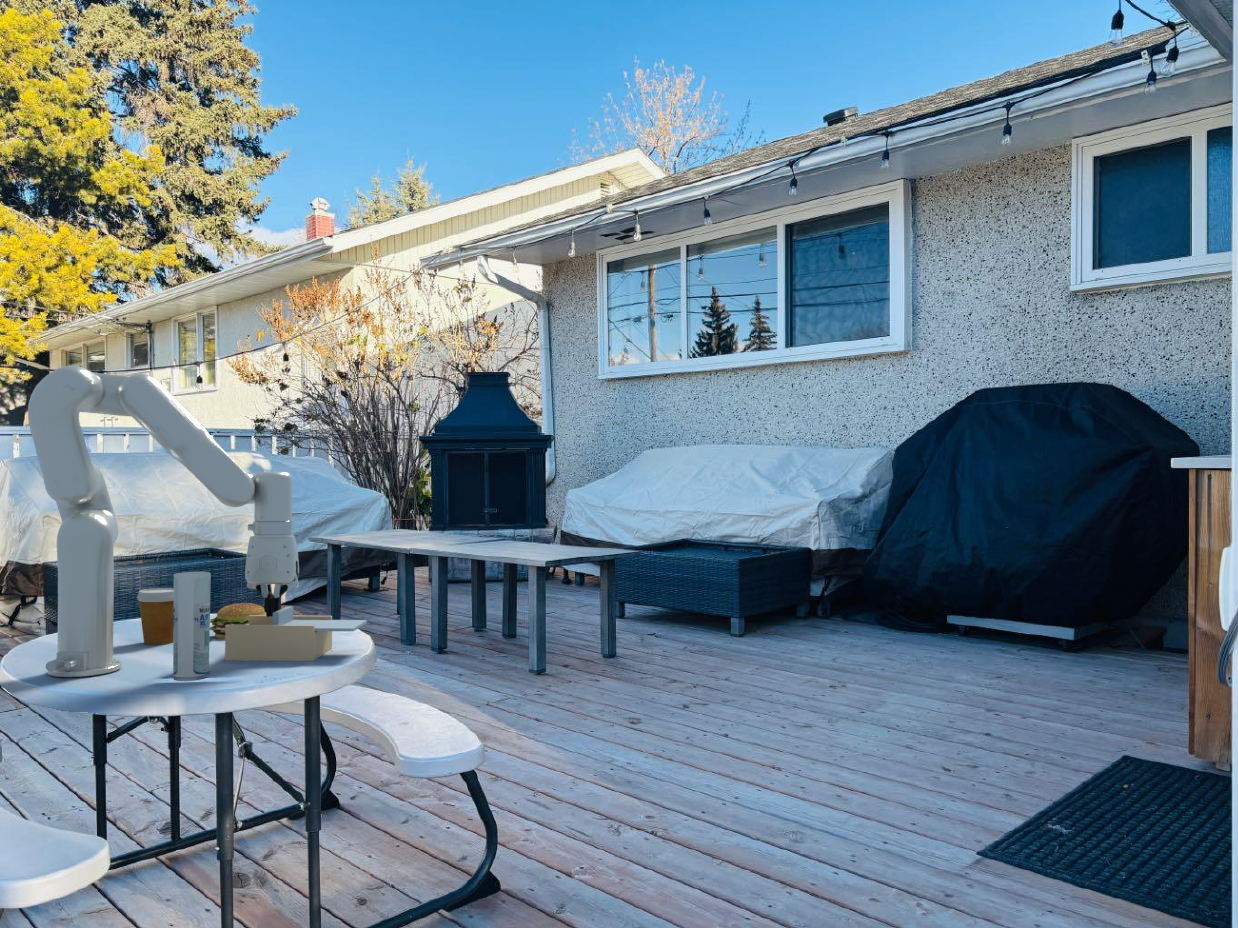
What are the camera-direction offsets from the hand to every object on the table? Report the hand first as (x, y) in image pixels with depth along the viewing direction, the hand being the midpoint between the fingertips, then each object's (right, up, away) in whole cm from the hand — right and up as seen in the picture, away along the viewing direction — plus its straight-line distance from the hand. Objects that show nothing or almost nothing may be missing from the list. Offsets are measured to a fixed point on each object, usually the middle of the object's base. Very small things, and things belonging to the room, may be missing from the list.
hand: (272, 615), depth 195 cm
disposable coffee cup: (-32, -9, +16) cm, 37 cm away
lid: (+10, -2, 0) cm, 10 cm away
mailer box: (+2, -9, 0) cm, 9 cm away
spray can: (-9, -9, -19) cm, 23 cm away
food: (-16, -9, +24) cm, 30 cm away
